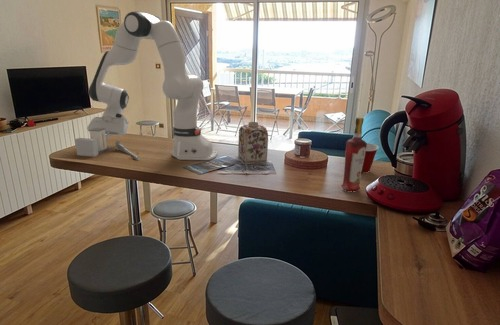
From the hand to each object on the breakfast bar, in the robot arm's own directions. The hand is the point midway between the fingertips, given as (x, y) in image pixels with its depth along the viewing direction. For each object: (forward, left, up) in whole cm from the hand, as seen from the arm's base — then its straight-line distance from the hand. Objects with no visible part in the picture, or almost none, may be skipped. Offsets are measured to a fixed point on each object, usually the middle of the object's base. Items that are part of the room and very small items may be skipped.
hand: (102, 140), depth 166 cm
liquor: (-120, +25, -6) cm, 122 cm away
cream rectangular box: (0, +3, -4) cm, 5 cm away
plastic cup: (-128, +1, -6) cm, 128 cm away
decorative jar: (-76, -6, -6) cm, 77 cm away
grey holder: (0, +5, -5) cm, 7 cm away
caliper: (-16, +5, -6) cm, 18 cm away
